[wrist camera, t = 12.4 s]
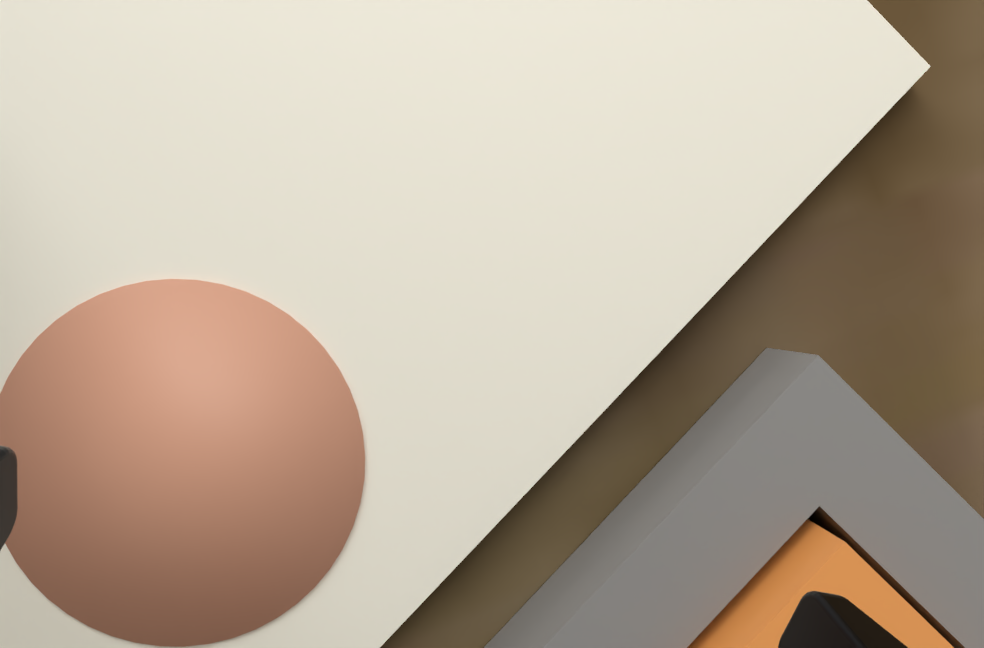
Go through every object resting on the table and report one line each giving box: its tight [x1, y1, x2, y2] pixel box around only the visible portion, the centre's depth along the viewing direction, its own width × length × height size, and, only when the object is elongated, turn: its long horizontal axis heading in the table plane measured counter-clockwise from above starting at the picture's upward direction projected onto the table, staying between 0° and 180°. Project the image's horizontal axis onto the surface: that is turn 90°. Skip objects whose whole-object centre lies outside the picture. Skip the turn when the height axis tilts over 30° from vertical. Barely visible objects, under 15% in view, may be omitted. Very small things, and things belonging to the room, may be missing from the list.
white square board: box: [0, 0, 930, 648], centre depth 17 cm, size 24×24×1 cm
